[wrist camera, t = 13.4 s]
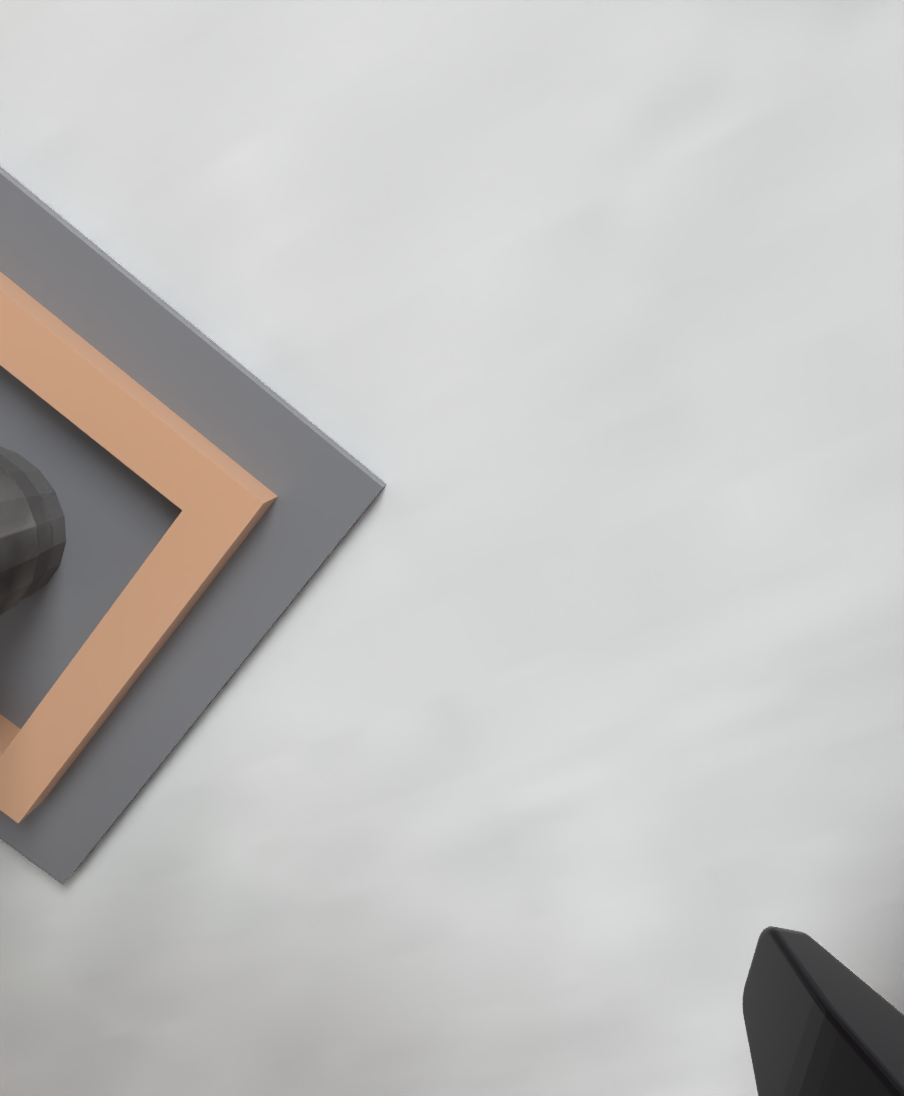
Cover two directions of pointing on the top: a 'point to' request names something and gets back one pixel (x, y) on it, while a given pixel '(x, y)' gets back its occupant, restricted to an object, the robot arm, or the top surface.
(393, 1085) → the top surface
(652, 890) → the top surface
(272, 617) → the cup dock
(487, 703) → the top surface
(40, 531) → the beverage cup
